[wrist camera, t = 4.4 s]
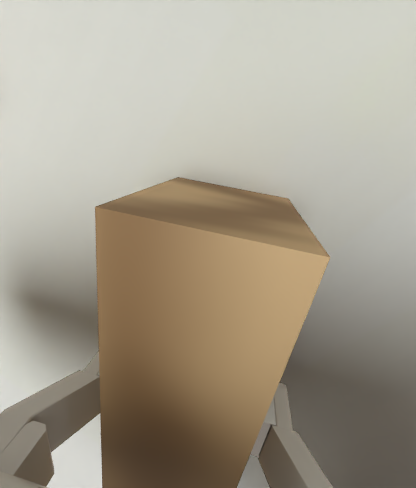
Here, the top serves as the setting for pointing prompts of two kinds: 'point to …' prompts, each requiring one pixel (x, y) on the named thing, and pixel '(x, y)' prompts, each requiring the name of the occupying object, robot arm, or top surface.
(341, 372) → the top surface
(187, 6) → the top surface
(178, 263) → the oak bar
